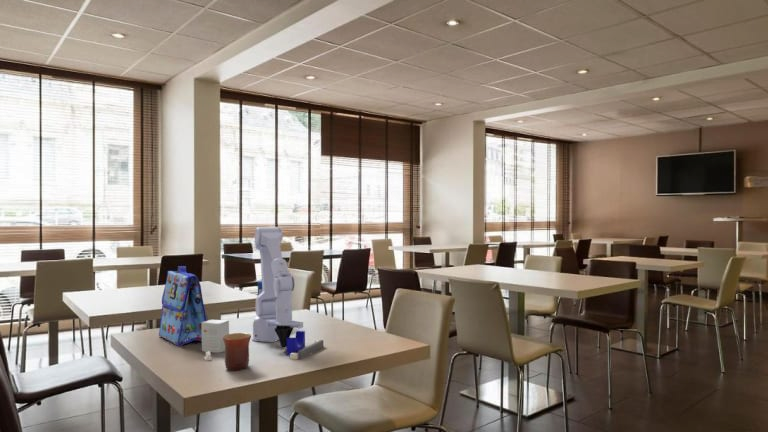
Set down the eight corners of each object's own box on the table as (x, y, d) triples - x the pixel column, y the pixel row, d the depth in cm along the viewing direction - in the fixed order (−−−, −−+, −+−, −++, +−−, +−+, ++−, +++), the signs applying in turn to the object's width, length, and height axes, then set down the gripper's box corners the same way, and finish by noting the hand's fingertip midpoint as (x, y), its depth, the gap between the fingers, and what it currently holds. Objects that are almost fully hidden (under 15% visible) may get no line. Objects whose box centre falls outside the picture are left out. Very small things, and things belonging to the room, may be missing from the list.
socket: (290, 358, 175) (290, 351, 175) (316, 345, 193) (316, 338, 193) (299, 359, 174) (299, 352, 174) (324, 346, 192) (324, 339, 192)
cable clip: (293, 346, 192) (293, 330, 192) (305, 347, 192) (304, 331, 192) (282, 355, 180) (282, 338, 180) (295, 355, 180) (295, 338, 180)
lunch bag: (157, 336, 209) (157, 265, 209) (191, 331, 218) (191, 263, 218) (176, 347, 192) (176, 269, 192) (212, 341, 201) (211, 266, 201)
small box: (229, 349, 188) (229, 320, 188) (220, 353, 183) (219, 323, 183) (211, 347, 191) (211, 319, 191) (201, 351, 186) (201, 322, 186)
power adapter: (212, 361, 175) (212, 351, 175) (205, 362, 173) (205, 353, 173) (208, 359, 177) (208, 350, 177) (201, 360, 175) (201, 351, 175)
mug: (248, 371, 161) (248, 338, 161) (219, 372, 160) (219, 339, 160) (255, 361, 173) (254, 330, 173) (228, 362, 172) (228, 331, 172)
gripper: (260, 310, 185) (260, 347, 185) (296, 312, 181) (296, 351, 181) (271, 306, 192) (271, 343, 192) (306, 308, 187) (306, 346, 187)
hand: (284, 346), depth 187 cm, fingers closed
